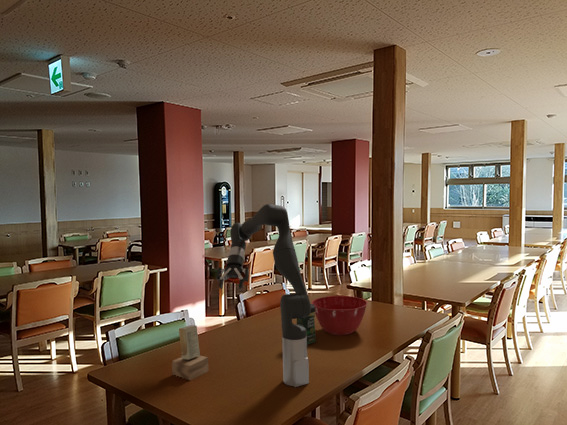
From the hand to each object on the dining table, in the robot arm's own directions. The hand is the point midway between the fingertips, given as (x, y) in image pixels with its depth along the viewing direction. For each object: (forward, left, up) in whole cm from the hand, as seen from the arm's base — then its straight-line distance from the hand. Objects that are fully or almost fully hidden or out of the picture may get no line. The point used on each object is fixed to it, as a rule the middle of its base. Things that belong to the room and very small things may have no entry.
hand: (230, 288), depth 185 cm
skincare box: (-6, +21, -25) cm, 33 cm away
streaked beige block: (-7, +21, -31) cm, 38 cm away
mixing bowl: (0, -61, -31) cm, 68 cm away
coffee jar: (-4, -37, -31) cm, 48 cm away
